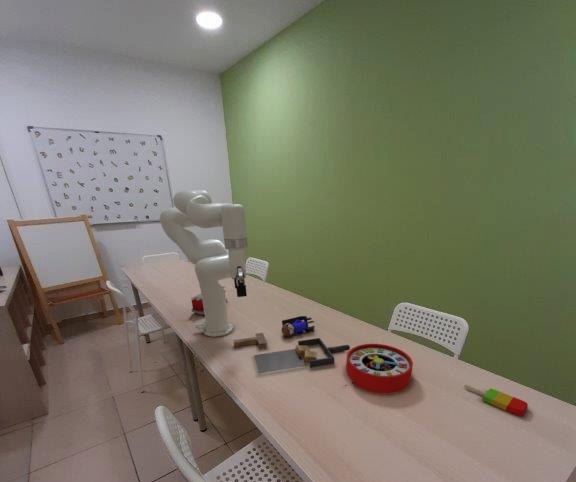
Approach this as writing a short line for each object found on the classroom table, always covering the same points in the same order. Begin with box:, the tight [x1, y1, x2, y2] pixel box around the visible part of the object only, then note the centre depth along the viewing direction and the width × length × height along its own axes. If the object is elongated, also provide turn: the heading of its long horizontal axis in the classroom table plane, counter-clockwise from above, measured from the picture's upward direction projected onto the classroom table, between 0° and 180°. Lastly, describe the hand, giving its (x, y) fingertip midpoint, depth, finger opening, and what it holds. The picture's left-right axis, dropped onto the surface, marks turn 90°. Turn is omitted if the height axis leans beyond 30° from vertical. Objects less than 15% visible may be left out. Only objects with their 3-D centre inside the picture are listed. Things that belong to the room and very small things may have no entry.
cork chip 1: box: [295, 344, 311, 358], centre depth 108 cm, size 4×4×2 cm
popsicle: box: [463, 384, 529, 417], centre depth 84 cm, size 6×15×2 cm, turn 42°
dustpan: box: [297, 337, 351, 368], centre depth 108 cm, size 18×15×3 cm
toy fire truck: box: [190, 286, 229, 315], centre depth 151 cm, size 9×19×10 cm, turn 148°
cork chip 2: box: [303, 350, 317, 364], centre depth 104 cm, size 4×4×2 cm
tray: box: [254, 348, 307, 374], centre depth 105 cm, size 16×12×1 cm
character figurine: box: [281, 315, 316, 337], centre depth 123 cm, size 8×7×15 cm
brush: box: [233, 332, 268, 349], centre depth 116 cm, size 12×9×3 cm
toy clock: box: [345, 343, 414, 395], centre depth 96 cm, size 20×6×20 cm
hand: (240, 292), depth 107 cm, fingers open, 9 cm apart
